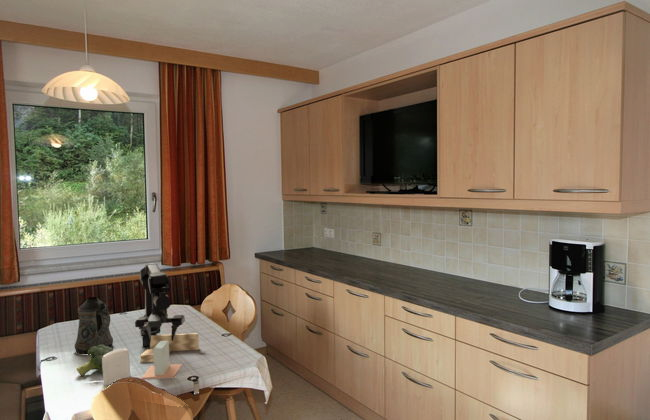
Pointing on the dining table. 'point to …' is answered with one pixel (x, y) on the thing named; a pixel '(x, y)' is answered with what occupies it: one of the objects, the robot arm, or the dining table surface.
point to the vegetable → (94, 359)
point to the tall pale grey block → (161, 357)
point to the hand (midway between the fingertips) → (161, 341)
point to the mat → (169, 373)
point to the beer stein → (93, 326)
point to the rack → (177, 341)
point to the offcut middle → (147, 360)
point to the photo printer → (115, 365)
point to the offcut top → (148, 354)
